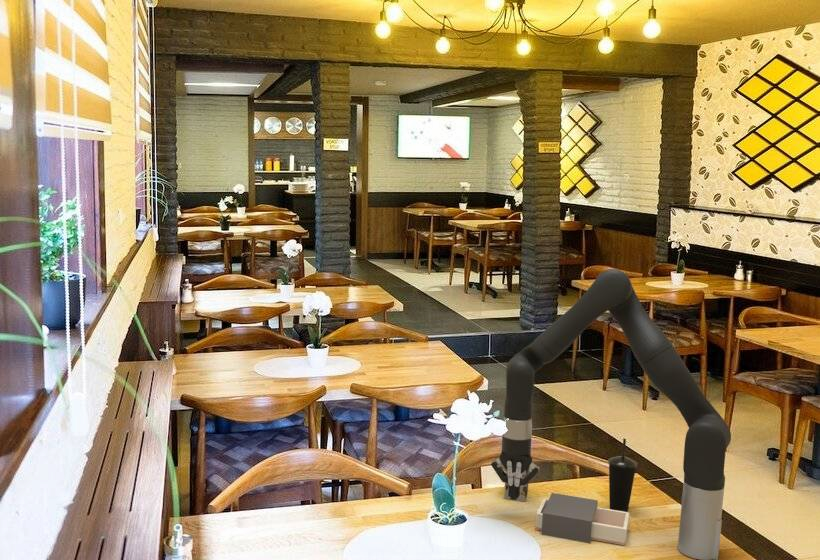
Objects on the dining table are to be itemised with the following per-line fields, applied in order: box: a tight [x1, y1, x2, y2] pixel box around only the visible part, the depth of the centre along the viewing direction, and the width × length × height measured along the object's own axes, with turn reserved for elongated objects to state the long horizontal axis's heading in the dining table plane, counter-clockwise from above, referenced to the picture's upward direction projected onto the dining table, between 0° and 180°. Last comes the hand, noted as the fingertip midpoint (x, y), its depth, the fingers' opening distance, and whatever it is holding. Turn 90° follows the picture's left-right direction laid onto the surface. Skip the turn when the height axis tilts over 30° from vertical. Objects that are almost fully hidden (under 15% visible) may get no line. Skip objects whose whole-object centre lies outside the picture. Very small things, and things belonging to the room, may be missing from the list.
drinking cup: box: [607, 438, 638, 512], centre depth 220 cm, size 8×8×20 cm
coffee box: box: [503, 466, 530, 502], centre depth 228 cm, size 9×6×16 cm
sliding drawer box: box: [535, 497, 630, 546], centre depth 207 cm, size 22×11×4 cm, turn 71°
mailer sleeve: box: [540, 492, 599, 544], centre depth 208 cm, size 12×14×6 cm
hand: (513, 498), depth 212 cm, fingers closed
